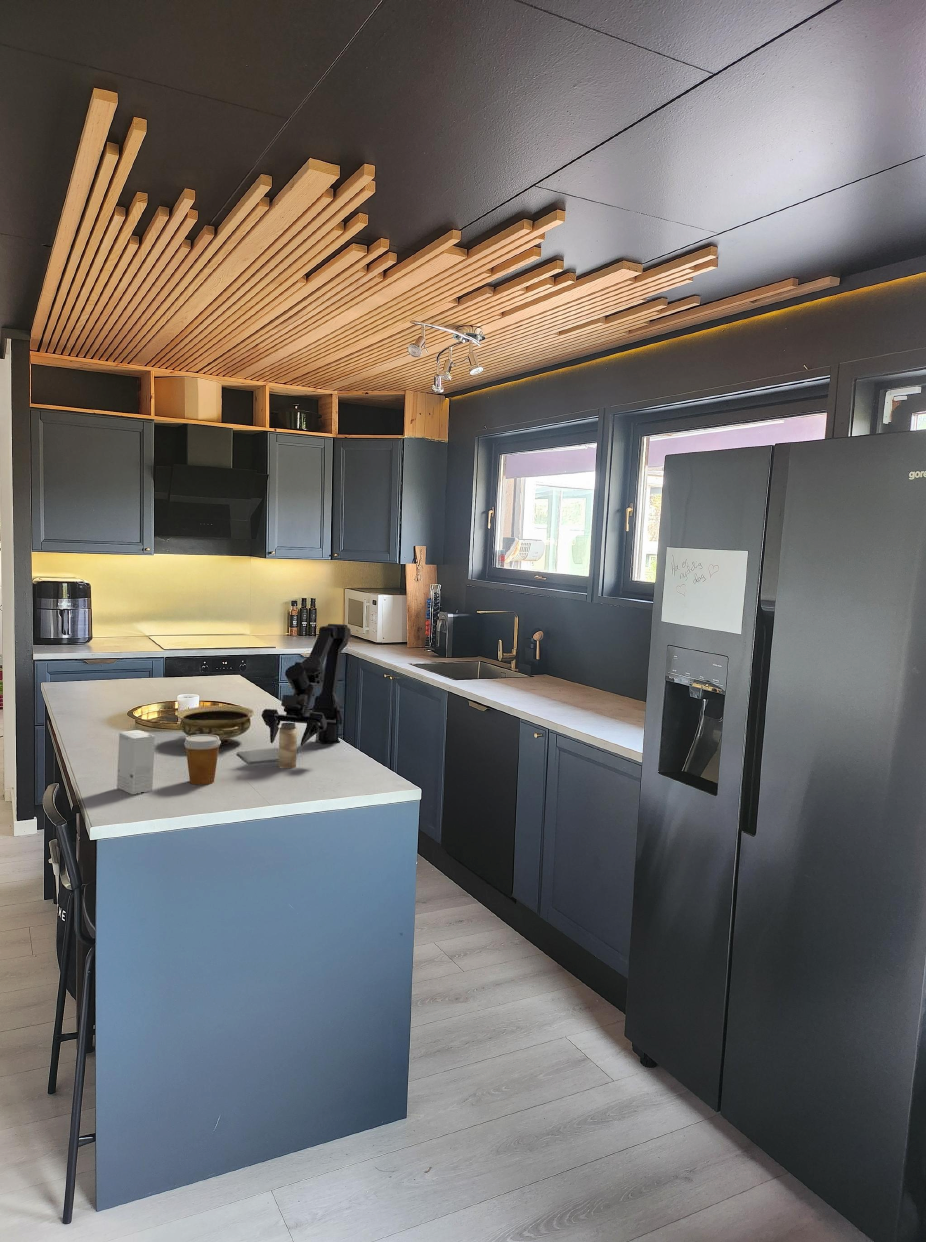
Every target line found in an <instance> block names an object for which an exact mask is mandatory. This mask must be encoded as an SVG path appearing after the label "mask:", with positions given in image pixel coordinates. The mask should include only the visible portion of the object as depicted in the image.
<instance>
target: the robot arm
mask: <svg viewBox="0 0 926 1242" xmlns="http://www.w3.org/2000/svg"><path fill="white" fill-rule="evenodd" d="M351 634H352V633H351V628H349V627H348V625H347V624H344V623H343V624H341V623H328V624H327V625H322V626H320V627H319V629H318V635H317V637H316V640H315V642H314V644H313V647H312V649H311V650H310V653H309V656H308V657H306V659H303V660H302V661H301V662H300V661H295V662H294V664H293V665H290V666H289V667H287V669H285V671H284V675H285V677H286V680H287V682H288V684H289V686H290V688H291V690H293V691H292V692H293V693H292V694H283V695H282V699H281V704H280V706H281V707H283V712H284V713H286V714H283V713H279V711H278V709H275V708H274V709H273V708H265V709H263V710H262V713H261V715H260V716H261V718H262V720H263V722H264V724H265V726H266V727H268V728H269V739H270V741H269V742H270V744H273V743H274V742H275V739H276V737H277V734H278V731H279V730H280V727H279V726H280V724H281V722H284V723H287V722H290V723H295V724H306V726H305V729H304V731H303V735H302V737H301V740H300V746H304V745H305V744H306V743H307V742H308V741H309V740H310V739H311V738H312V737H313V736H315V741H317V742H319V743H320V744H322V745H323V744H326V745H327V744H335V743H336V744H337V743H341V740H340V739H339V731H340V725H343V723H344V722H343V721H344V715H343V711H342V709H341V707H340V705H341V704H340V701H339V698H338V695H337V688H338V681H339V675H340V668H341V667H340V666H341V660H342V653H343V650H344V649H345V648H346V647H347V646H348V644H349V639H350V637H351ZM324 662H325V665H323V664H324ZM323 666H324V667H323ZM321 682H322V688H321V692H320V693H319V694H318V695H316V696H315V687H314V685H319V684H320V683H321ZM313 697H314V703H313V707H312V711H311V712H310V713H309V716H307V713H308V712H309V711H310V709H311V707H310V703H311V701H312V698H313ZM339 740H340V741H339Z"/></svg>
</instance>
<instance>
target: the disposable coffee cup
mask: <svg viewBox="0 0 926 1242" xmlns="http://www.w3.org/2000/svg"><path fill="white" fill-rule="evenodd" d="M220 744H221V741H220V739H219V737H218V736H216V735H209V734H200V735H192V736H188V735H187V736H186V738H185V740H184V742H183V745H184V747H185V752H186V761H187V767H188V768H187V769H188V776H189V777H188V778H189V783H190V784H191V783H192V784H191V785H195V784H196V785H197V786H201V785H202V786H205V785H209V784H212V783H214V782H215V778H216V770H217V765H218V756H219V750H220V746H221V745H220Z"/></svg>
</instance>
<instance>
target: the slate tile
mask: <svg viewBox="0 0 926 1242" xmlns="http://www.w3.org/2000/svg"><path fill="white" fill-rule="evenodd" d="M236 754H237V756H239V757H240V758H241V759H243V760H244V761H245V762H246V764H248V765H250V764H251V765H252V764H261V763H271V762H279V747H277V748H267V749H265V748H264V749H253V750H242V751H236Z"/></svg>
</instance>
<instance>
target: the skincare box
mask: <svg viewBox="0 0 926 1242" xmlns="http://www.w3.org/2000/svg"><path fill="white" fill-rule="evenodd" d="M118 733H119V734H118V735H119V737H118V754H117V755H118V756H117V771H116V772H117V776H116V788H117V789H118V788H119V789H118V790H121V789H122V790H121V791H123V790H124V792H125V793H128V794H129V795H138V794H142V793H141V792H144V793H147V792H146V791H149V792H152V791H153V784H154V782H153V781H154V761H155V742H156V741H155V740H156V737H155V735H152V734H151V733H148V732H146V731H142V730H140V729H136V730H135V729H134V730H129V731H128V730H127V731H119V732H118ZM151 790H152V791H151ZM137 793H138V794H137Z"/></svg>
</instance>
